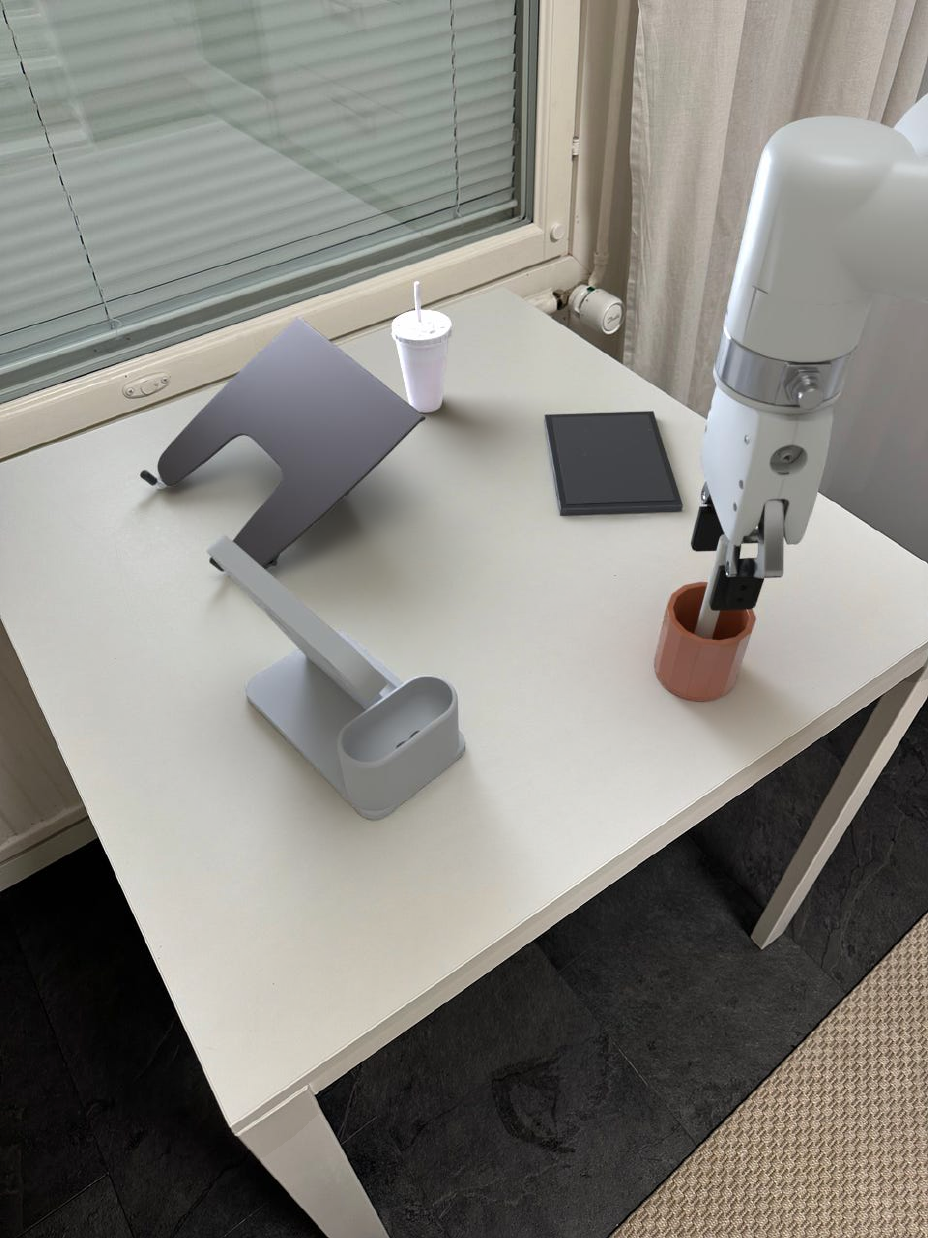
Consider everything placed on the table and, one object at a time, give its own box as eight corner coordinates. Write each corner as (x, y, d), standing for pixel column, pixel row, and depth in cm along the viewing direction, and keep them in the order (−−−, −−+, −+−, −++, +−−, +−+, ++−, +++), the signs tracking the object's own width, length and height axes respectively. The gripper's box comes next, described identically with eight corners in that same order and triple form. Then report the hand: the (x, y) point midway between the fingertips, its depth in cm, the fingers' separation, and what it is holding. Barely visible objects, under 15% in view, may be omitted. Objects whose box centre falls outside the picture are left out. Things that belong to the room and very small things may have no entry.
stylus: (701, 659, 74) (737, 532, 64) (704, 672, 73) (742, 545, 63) (684, 660, 74) (717, 533, 64) (687, 673, 73) (722, 546, 63)
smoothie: (433, 381, 103) (428, 264, 93) (465, 406, 100) (463, 288, 90) (386, 399, 101) (376, 281, 91) (417, 426, 97) (410, 306, 87)
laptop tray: (182, 504, 98) (124, 457, 90) (331, 359, 99) (287, 300, 91) (284, 627, 85) (227, 585, 78) (455, 460, 86) (415, 402, 78)
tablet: (652, 416, 98) (653, 410, 98) (681, 511, 87) (683, 504, 87) (544, 420, 98) (544, 413, 97) (559, 515, 87) (560, 508, 86)
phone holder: (475, 750, 68) (475, 585, 55) (373, 832, 64) (347, 672, 51) (336, 629, 77) (308, 461, 64) (238, 693, 72) (185, 526, 59)
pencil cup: (724, 638, 76) (742, 579, 71) (744, 701, 71) (765, 643, 66) (647, 640, 76) (660, 582, 71) (662, 704, 71) (677, 646, 66)
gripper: (899, 442, 47) (805, 664, 60) (802, 285, 58) (742, 500, 72) (757, 447, 47) (695, 668, 60) (688, 289, 58) (649, 503, 72)
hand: (721, 575), depth 66 cm, fingers open, 5 cm apart
